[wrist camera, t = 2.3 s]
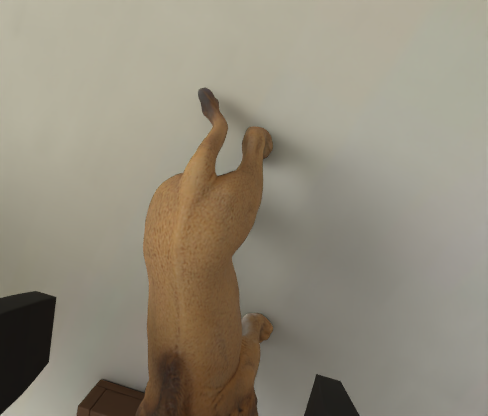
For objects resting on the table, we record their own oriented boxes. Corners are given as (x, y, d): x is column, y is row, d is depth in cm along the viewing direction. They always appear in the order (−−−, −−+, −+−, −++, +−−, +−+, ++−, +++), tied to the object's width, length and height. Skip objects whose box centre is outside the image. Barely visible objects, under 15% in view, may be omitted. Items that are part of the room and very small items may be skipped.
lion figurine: (311, 409, 18) (313, 673, 9) (200, 411, 19) (107, 651, 10) (267, 78, 15) (213, 11, 7) (142, 101, 16) (-46, 68, 8)
